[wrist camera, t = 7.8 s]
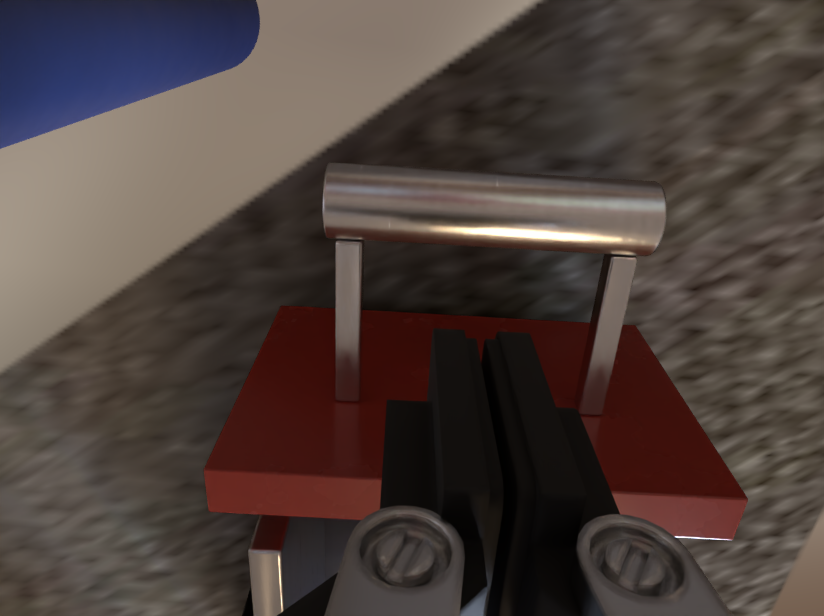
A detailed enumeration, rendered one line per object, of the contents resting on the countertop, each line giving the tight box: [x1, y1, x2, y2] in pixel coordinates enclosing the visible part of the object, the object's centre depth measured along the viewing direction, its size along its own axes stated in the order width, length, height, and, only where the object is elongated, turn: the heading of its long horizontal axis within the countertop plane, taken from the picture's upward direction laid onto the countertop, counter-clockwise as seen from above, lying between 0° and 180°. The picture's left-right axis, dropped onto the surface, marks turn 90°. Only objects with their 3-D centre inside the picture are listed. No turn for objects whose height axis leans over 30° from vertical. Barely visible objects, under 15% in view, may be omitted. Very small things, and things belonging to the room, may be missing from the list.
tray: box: [204, 162, 748, 616], centre depth 18 cm, size 19×11×8 cm, turn 177°
